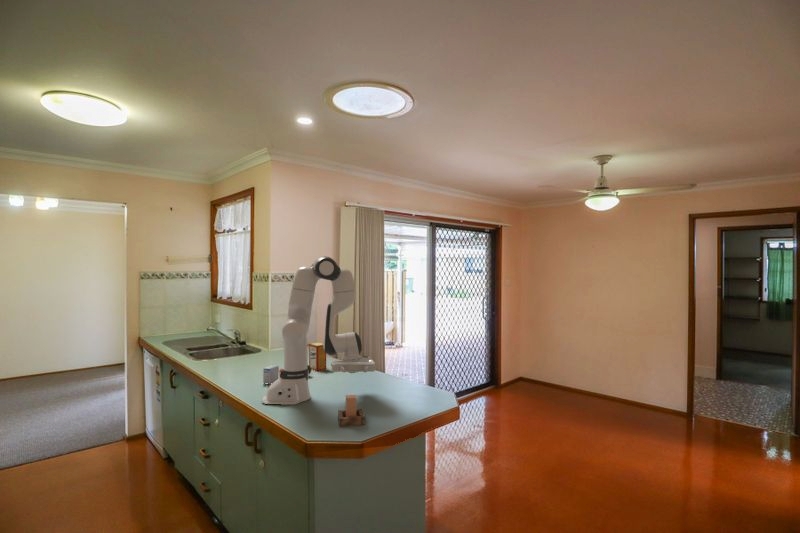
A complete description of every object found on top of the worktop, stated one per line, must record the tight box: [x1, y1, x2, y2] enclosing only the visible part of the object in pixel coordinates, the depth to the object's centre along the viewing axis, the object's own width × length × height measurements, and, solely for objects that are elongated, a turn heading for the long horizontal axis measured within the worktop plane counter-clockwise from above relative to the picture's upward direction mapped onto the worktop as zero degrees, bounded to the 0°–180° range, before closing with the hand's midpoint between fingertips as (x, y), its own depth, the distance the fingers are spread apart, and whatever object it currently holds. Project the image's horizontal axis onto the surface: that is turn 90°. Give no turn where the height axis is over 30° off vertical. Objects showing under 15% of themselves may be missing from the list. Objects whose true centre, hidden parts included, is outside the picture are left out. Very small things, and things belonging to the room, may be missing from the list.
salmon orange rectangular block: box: [345, 394, 357, 417], centre depth 159 cm, size 4×4×10 cm
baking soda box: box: [308, 342, 327, 372], centre depth 243 cm, size 10×6×16 cm
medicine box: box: [262, 364, 280, 384], centre depth 213 cm, size 8×4×9 cm, turn 163°
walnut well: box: [337, 408, 366, 428], centre depth 158 cm, size 10×10×3 cm
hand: (354, 370), depth 173 cm, fingers open, 8 cm apart
